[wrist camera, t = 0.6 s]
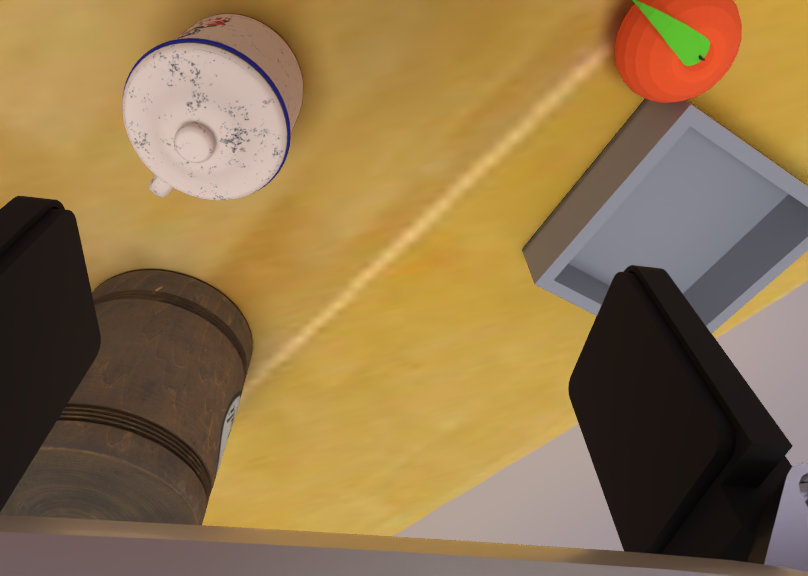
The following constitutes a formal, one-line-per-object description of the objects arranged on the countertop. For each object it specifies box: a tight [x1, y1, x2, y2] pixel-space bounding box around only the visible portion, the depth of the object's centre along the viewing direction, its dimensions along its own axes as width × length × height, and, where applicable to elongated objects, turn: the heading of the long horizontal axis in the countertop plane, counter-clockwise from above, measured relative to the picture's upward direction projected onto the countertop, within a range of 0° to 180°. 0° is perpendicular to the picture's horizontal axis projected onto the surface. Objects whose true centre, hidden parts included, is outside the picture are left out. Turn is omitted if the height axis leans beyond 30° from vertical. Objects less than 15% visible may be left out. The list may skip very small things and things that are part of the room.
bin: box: [522, 98, 808, 334], centre depth 43 cm, size 16×16×5 cm
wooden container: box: [0, 270, 252, 525], centre depth 42 cm, size 15×15×22 cm
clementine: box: [615, 0, 742, 103], centre depth 34 cm, size 8×7×7 cm
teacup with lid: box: [122, 14, 303, 200], centre depth 34 cm, size 12×9×12 cm
